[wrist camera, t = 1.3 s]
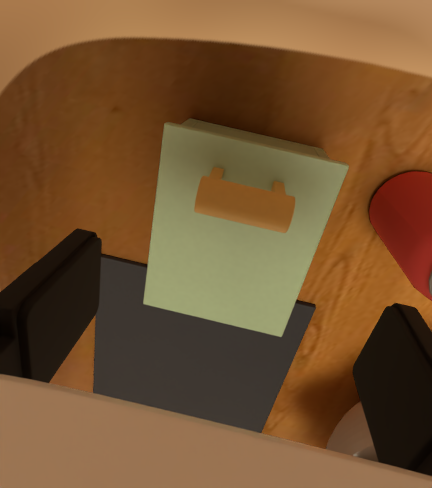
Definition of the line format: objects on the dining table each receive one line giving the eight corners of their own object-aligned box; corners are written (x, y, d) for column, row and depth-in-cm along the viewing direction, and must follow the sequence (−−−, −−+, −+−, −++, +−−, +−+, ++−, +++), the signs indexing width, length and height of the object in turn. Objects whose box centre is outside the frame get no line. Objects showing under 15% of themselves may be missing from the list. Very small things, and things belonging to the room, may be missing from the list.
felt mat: (99, 253, 37) (97, 256, 36) (315, 304, 36) (315, 307, 36) (94, 394, 48) (92, 398, 48) (258, 435, 48) (258, 439, 47)
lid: (167, 121, 22) (134, 140, 16) (346, 162, 21) (376, 196, 16) (145, 298, 29) (117, 353, 23) (281, 330, 28) (285, 394, 23)
